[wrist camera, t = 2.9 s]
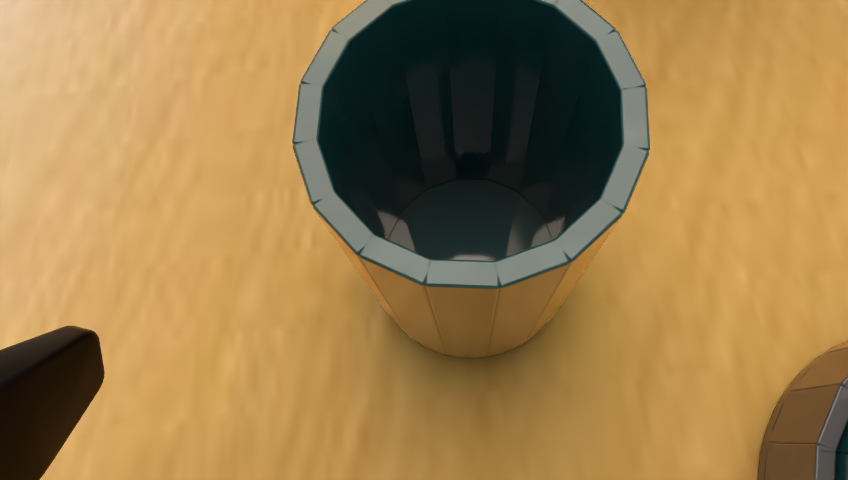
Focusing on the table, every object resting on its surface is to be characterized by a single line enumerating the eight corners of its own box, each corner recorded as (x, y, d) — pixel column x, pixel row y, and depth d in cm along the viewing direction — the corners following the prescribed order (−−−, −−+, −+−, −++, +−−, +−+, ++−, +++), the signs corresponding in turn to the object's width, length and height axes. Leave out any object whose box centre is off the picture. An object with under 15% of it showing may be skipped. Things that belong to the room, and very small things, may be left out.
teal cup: (465, 400, 21) (458, 367, 11) (336, 257, 22) (225, 111, 12) (608, 265, 22) (727, 118, 11) (474, 137, 23) (475, -89, 13)
